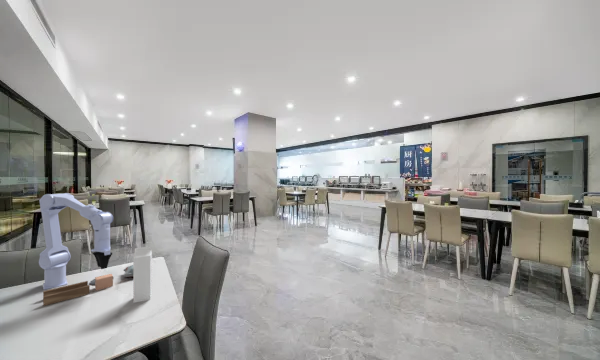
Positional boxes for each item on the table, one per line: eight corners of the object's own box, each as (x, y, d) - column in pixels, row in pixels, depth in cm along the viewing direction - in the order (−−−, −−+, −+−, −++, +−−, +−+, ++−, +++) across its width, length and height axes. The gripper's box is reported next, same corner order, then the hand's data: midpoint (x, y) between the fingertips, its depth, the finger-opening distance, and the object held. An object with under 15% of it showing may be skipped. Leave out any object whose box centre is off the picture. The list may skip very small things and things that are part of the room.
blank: (95, 287, 112) (95, 277, 112) (111, 283, 116) (111, 273, 116) (96, 290, 109) (96, 279, 109) (112, 286, 113) (112, 275, 113)
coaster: (88, 281, 119) (88, 279, 119) (111, 275, 125) (111, 274, 125) (91, 286, 113) (91, 285, 113) (115, 280, 119) (115, 279, 119)
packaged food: (122, 280, 118) (122, 270, 118) (123, 273, 128) (123, 264, 128) (143, 276, 123) (143, 267, 123) (143, 270, 133) (143, 261, 133)
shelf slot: (43, 299, 101) (43, 291, 101) (87, 288, 111) (87, 280, 111) (43, 306, 96) (43, 297, 96) (89, 293, 106) (89, 285, 106)
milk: (135, 297, 103) (135, 246, 103) (152, 294, 106) (151, 244, 106) (133, 303, 98) (133, 250, 98) (150, 300, 100) (150, 248, 100)
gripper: (86, 237, 113) (86, 266, 113) (96, 242, 104) (96, 273, 105) (105, 235, 119) (105, 262, 119) (115, 239, 110) (115, 268, 110)
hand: (102, 267), depth 112 cm, fingers open, 4 cm apart
